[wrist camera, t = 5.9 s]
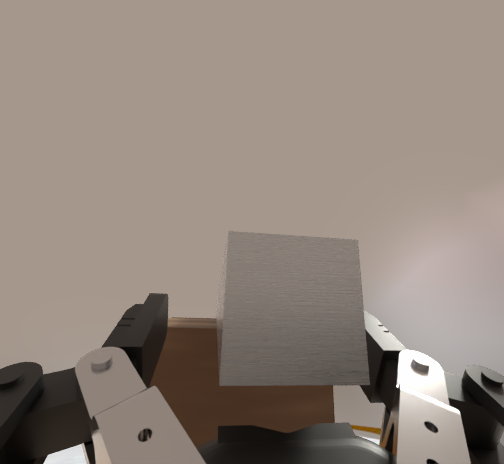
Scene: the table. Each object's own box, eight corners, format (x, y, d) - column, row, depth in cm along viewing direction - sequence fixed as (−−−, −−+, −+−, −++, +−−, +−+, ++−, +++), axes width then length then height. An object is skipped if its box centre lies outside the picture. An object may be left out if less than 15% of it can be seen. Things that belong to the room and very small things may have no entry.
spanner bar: (216, 317, 34) (219, 269, 35) (240, 317, 34) (242, 270, 36) (219, 386, 5) (235, 122, 7) (369, 384, 5) (349, 136, 7)
